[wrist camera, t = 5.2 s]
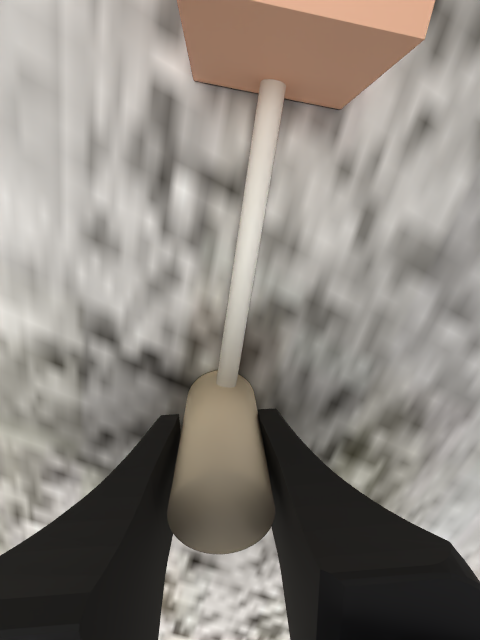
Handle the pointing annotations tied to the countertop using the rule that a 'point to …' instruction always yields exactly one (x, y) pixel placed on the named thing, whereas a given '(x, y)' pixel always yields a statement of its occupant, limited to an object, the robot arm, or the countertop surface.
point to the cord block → (273, 86)
